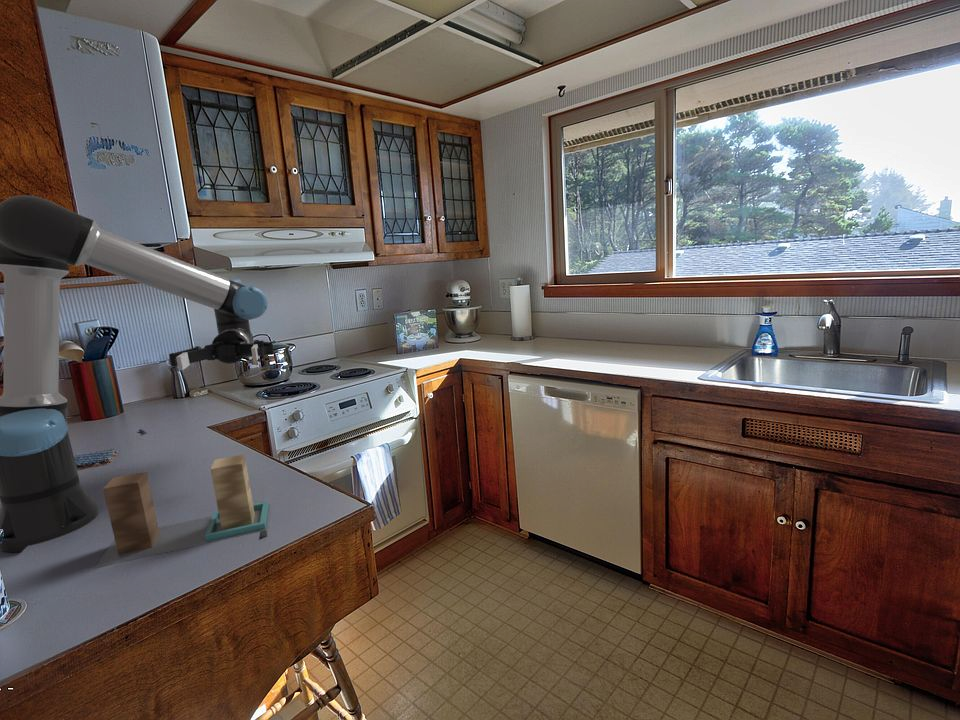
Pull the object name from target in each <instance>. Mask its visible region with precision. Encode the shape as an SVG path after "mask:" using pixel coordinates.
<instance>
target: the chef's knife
mask: <svg viewBox="0 0 960 720" xmlns="http://www.w3.org/2000/svg"><path fill="white" fill-rule="evenodd" d="M138 431H140V432H142V433H143V434H142V433H141V434H142V435H147V434H149V433H148V432H146V431H145V430H143V429H141V428H140V429H139V430H138ZM140 432H139V433H140Z"/></svg>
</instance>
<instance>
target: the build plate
mask: <svg viewBox="0 0 960 720" xmlns="http://www.w3.org/2000/svg"><path fill="white" fill-rule="evenodd" d="M268 501H269V500H267V501H263V502H258V503H253V506H254V512H255V515H254V520H253V524H250V525H245V526H241V527H236V528H231V529H227V530H222V528H221V523H220V518H219V512H218V511H214V512H213V513H212V515H211V516H207V517H202V518H197V519H192V520H187V521H184V522H183V521H182V522H179V523H172V524H168V525H164V526H163V525H162V526H158V528H159V533H160V534H159V536H158V538H157V539H156V541H155V543H154V545H153V547H152V548H147V549H142V550H138V551H133V552H129V553H124V554H119V555H118V551H117V547H116V542H115V539H114V540H113V541H112V542H111V543H110V545H109V547H108V548H107V549H106V551H105V552H104V553H103V555H102V556H101V558H100V559H99V560H98V562H97V563H96V564H95V567H94V569H97V568H102V567H107V566H111V565H115V564H120V563H124V562H129V561H133V560H138V559H142V558H147V557H152V556H156V555H161V554H165V553H169V552H174V551H179V550H183V549H187V548H191V547H197V546H201V545H206V544H210V543H214V542H219V541H225V540H228V539H233V538H238V537H242V536H246V535H250V534H255V533H259V537H258V539H260V538H265V537H268V532H269V526H270V517H271V504H269V502H268Z"/></svg>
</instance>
